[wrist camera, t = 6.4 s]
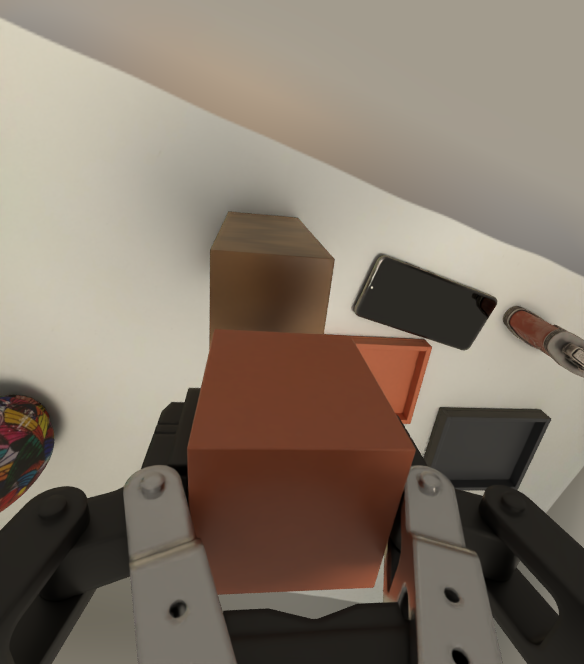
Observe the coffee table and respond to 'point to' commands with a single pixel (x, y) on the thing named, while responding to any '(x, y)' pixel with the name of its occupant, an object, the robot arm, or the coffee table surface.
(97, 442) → the coffee table surface
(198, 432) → the block
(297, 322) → the stand
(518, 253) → the coffee table surface
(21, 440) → the egg
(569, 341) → the lighter
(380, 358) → the terracotta tray
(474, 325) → the smartphone
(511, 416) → the charcoal tray
